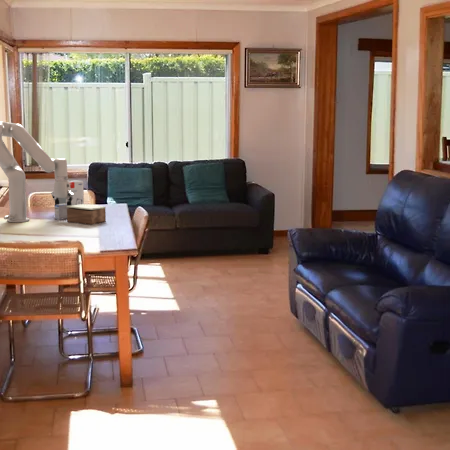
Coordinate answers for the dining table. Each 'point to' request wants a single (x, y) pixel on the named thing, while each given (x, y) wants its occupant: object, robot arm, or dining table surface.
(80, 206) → the lid
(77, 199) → the hard drive box
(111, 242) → the dining table surface
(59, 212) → the medicine box
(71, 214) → the wooden box
